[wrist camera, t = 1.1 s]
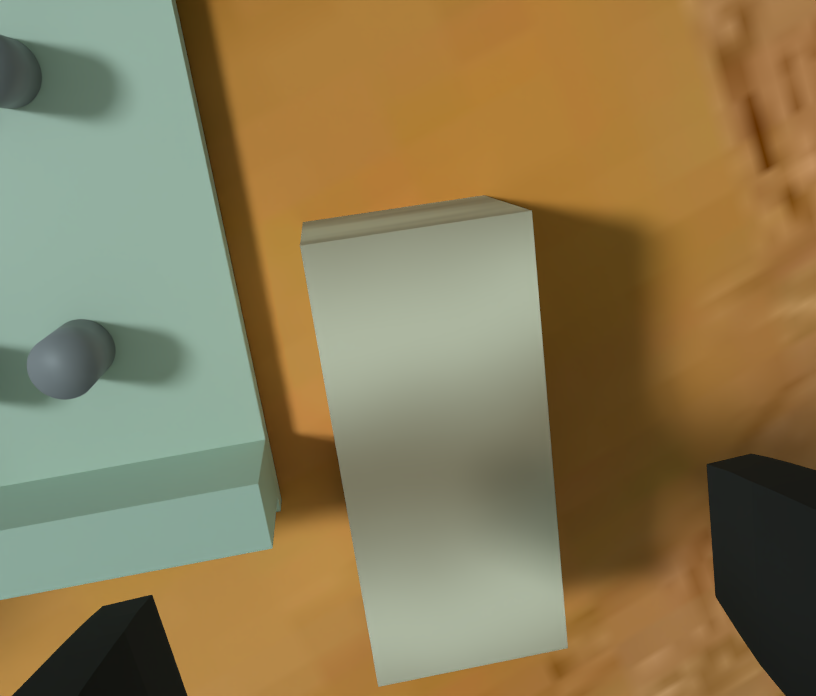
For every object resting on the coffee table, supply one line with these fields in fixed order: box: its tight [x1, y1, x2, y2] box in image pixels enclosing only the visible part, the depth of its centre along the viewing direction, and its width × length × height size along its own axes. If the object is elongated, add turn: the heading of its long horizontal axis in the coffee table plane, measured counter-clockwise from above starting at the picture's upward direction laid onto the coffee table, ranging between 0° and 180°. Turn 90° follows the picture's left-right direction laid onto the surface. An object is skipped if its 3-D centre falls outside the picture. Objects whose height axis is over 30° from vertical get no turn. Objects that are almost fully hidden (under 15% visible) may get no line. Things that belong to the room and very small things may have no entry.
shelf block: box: [300, 195, 568, 687], centre depth 17 cm, size 10×4×4 cm, turn 8°
